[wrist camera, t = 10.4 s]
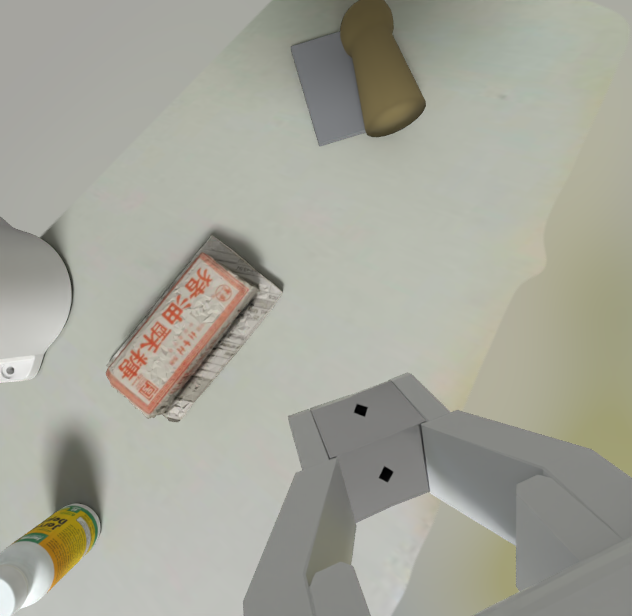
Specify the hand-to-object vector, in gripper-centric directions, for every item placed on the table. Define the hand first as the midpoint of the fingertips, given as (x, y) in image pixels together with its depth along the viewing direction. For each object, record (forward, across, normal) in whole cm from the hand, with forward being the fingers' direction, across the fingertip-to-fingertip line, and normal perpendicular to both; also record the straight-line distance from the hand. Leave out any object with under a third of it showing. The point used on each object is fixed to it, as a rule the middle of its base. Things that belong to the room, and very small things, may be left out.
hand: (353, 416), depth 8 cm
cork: (+28, -17, -8) cm, 34 cm away
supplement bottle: (+26, +27, +24) cm, 44 cm away
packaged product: (+30, +8, +8) cm, 32 cm away
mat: (+34, -15, -12) cm, 39 cm away
